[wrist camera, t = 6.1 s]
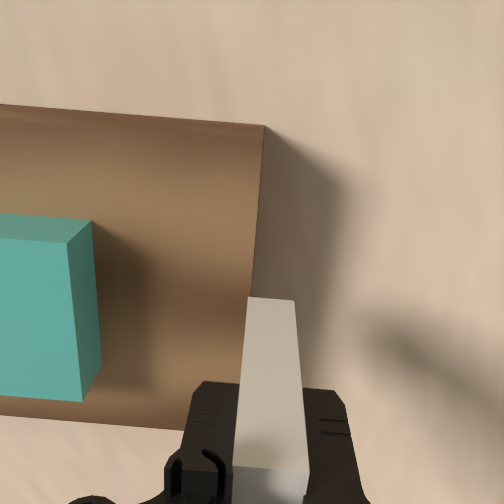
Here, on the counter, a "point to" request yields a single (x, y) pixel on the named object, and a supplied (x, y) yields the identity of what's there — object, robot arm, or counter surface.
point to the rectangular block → (47, 308)
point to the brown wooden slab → (145, 248)
